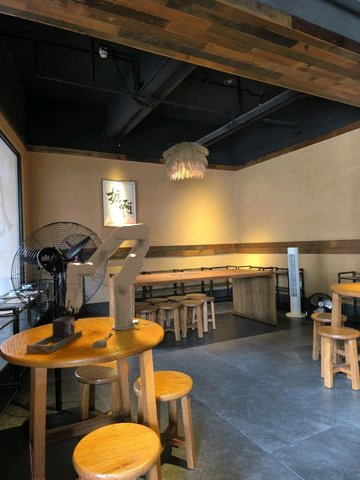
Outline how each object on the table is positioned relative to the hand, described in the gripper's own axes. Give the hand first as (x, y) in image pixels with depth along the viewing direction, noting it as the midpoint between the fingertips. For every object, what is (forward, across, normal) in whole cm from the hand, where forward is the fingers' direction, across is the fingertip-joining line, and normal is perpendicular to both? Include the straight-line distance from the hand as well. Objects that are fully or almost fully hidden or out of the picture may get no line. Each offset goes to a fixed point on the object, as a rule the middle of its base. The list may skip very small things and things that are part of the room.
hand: (74, 320), depth 172 cm
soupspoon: (+7, +14, +24) cm, 28 cm away
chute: (+7, +18, +1) cm, 19 cm away
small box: (+7, +12, +1) cm, 14 cm away
